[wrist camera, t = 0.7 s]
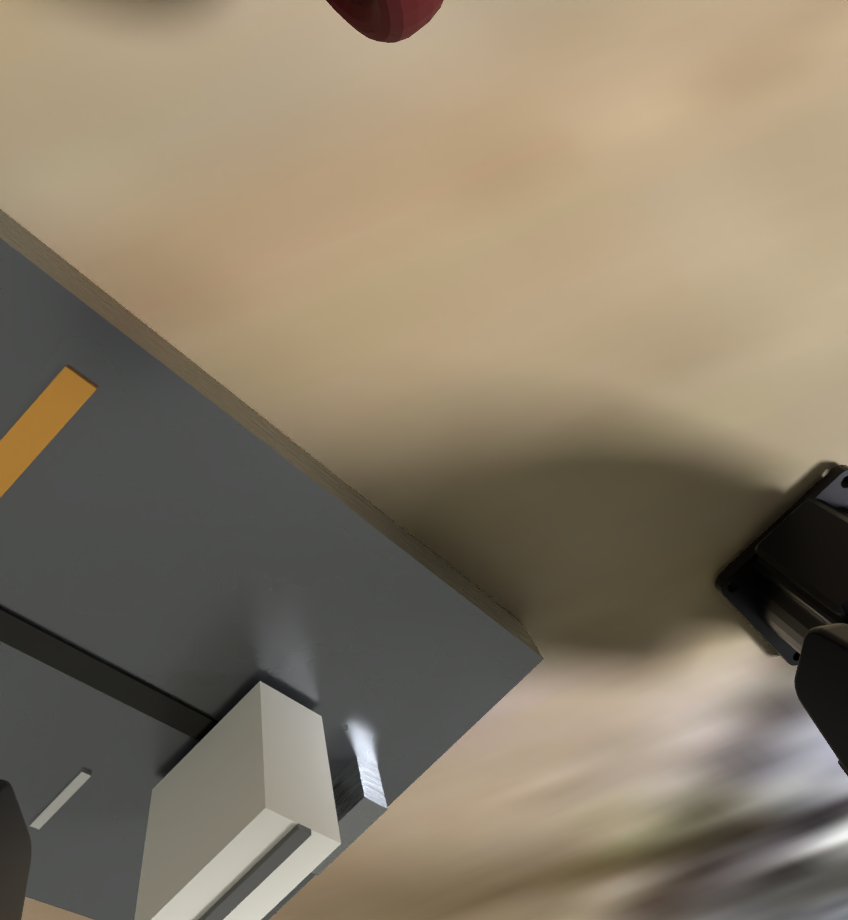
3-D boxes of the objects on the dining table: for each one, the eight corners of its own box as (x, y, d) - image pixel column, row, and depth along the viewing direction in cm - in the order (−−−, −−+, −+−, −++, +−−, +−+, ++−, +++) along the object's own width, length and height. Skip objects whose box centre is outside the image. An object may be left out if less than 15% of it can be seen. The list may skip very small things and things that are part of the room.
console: (521, 622, 24) (564, 692, 21) (224, 908, 26) (221, 1012, 23) (-108, 124, 15) (-204, 111, 12) (-509, 630, 17) (-689, 742, 13)
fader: (321, 716, 21) (341, 849, 17) (217, 818, 21) (213, 971, 17) (260, 680, 20) (265, 813, 16) (152, 789, 20) (131, 945, 16)
